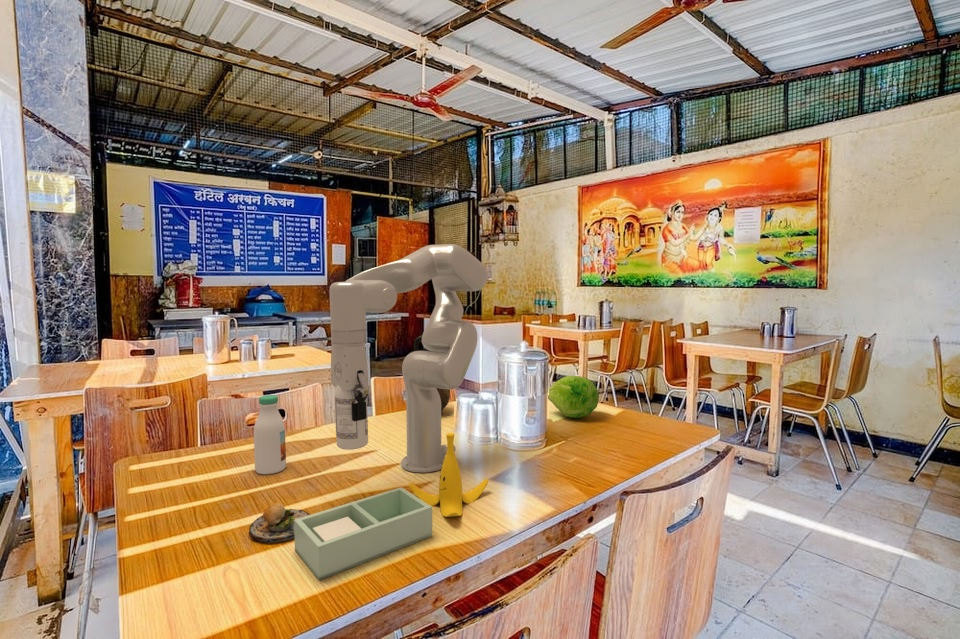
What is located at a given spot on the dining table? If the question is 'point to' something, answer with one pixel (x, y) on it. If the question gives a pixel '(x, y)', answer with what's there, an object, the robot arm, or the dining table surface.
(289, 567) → the dining table surface
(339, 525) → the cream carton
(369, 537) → the box
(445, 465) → the banana peel
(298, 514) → the burger
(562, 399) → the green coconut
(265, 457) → the milk bottle
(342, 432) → the bath foam
